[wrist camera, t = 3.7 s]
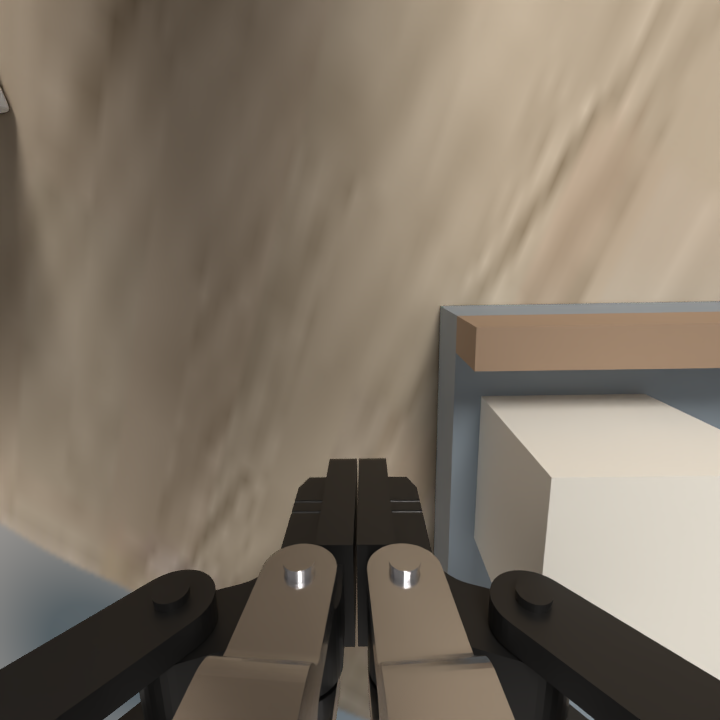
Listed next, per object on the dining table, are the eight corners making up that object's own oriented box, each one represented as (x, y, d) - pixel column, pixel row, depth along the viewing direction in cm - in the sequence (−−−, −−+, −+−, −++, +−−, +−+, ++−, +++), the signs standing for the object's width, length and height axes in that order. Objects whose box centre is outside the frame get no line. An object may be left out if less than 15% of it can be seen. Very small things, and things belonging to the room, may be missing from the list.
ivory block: (481, 395, 12) (551, 477, 7) (644, 394, 12) (815, 474, 7) (474, 537, 13) (531, 684, 8) (624, 536, 13) (762, 683, 8)
